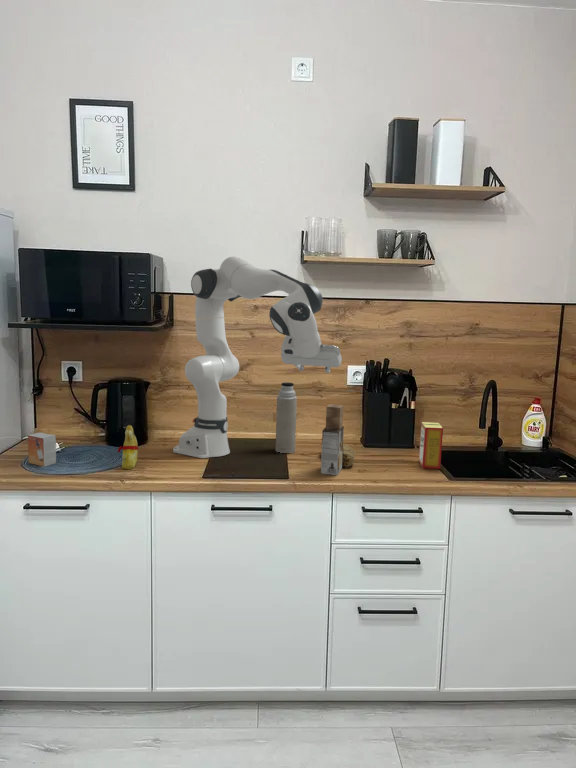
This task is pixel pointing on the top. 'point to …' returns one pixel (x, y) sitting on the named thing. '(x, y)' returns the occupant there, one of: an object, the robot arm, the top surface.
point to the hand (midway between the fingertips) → (314, 370)
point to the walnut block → (334, 416)
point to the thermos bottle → (286, 419)
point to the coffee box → (332, 451)
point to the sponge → (347, 456)
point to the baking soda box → (430, 445)
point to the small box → (42, 449)
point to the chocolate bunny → (129, 449)
